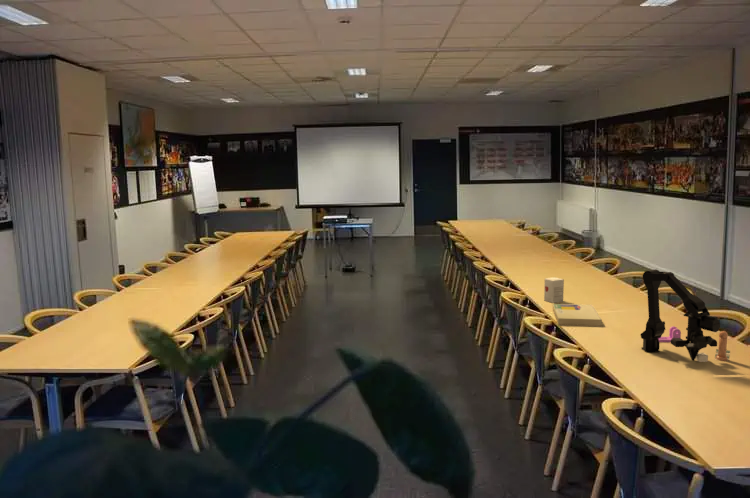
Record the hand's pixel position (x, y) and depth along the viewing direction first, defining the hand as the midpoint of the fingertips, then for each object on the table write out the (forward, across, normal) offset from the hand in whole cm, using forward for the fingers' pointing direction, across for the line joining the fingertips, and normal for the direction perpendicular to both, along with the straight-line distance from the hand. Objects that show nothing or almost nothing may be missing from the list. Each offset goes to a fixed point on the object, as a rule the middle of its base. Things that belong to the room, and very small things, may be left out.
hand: (692, 360), depth 294 cm
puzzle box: (+2, -28, +84) cm, 89 cm away
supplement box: (+1, -30, +127) cm, 130 cm away
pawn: (0, +14, +1) cm, 14 cm away
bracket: (+1, +3, +35) cm, 35 cm away
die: (+1, +4, 0) cm, 4 cm away
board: (+1, +17, +7) cm, 18 cm away
